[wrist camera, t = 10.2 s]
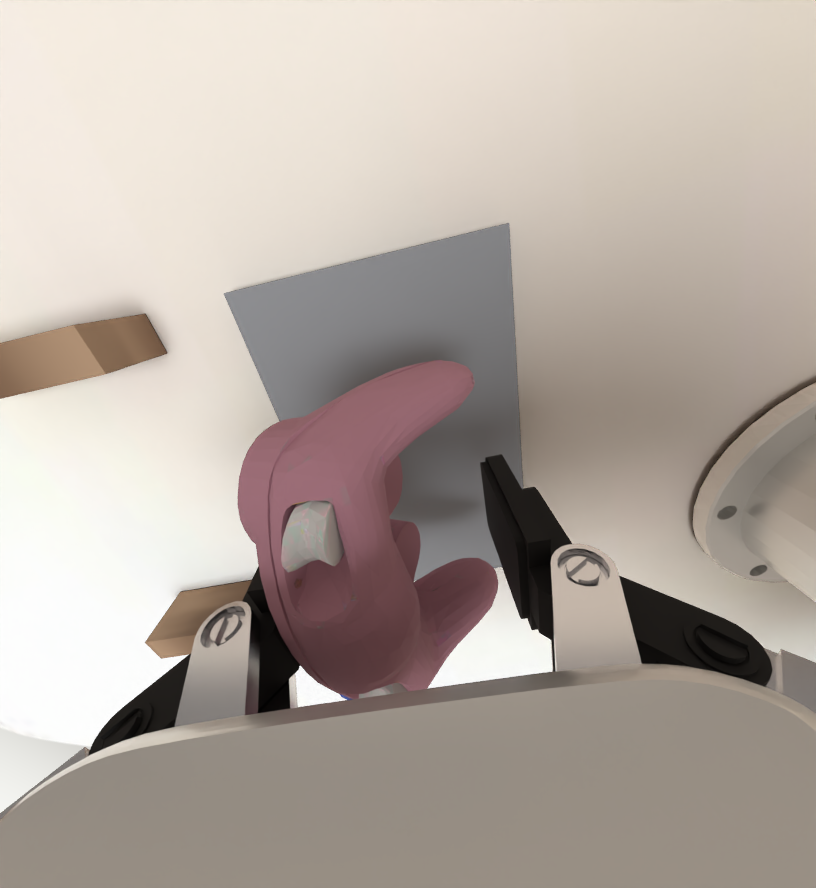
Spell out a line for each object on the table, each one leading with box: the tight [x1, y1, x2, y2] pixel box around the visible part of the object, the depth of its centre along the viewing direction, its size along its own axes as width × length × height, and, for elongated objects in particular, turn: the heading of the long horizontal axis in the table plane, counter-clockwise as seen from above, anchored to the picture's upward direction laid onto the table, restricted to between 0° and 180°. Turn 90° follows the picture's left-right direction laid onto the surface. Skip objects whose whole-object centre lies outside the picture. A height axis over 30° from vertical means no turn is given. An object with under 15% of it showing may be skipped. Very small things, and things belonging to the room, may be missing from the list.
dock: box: [0, 314, 252, 658], centre depth 15 cm, size 7×16×3 cm, turn 12°
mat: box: [224, 223, 523, 581], centre depth 15 cm, size 10×16×1 cm, turn 12°
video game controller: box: [238, 360, 498, 700], centre depth 10 cm, size 10×5×7 cm, turn 12°
